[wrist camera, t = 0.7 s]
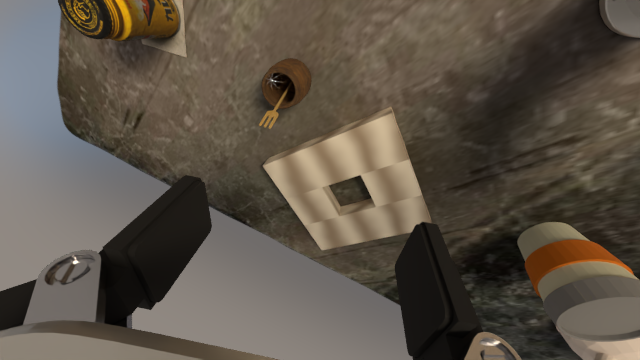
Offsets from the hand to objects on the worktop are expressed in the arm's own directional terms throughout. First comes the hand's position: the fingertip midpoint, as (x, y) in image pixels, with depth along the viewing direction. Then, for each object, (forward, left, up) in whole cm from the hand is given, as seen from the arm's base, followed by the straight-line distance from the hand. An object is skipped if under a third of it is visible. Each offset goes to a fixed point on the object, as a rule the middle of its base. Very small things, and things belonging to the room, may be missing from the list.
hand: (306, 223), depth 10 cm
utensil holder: (+8, -4, -30) cm, 32 cm away
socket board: (+8, +18, -30) cm, 36 cm away
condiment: (+22, -20, -31) cm, 42 cm away
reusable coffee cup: (-22, +42, -30) cm, 56 cm away
